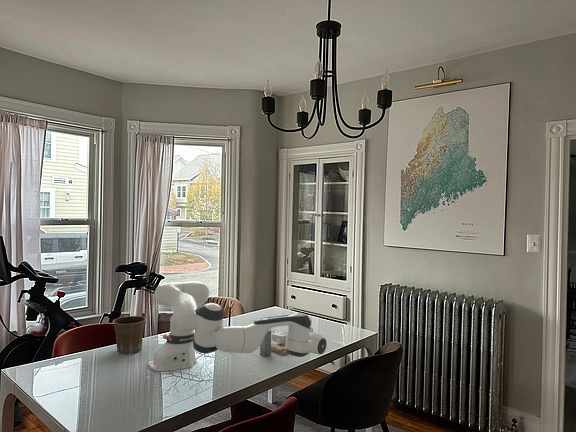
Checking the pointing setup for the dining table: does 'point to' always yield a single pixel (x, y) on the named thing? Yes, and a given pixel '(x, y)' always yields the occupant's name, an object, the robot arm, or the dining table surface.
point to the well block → (279, 348)
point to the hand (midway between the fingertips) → (281, 330)
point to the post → (266, 345)
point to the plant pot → (129, 333)
